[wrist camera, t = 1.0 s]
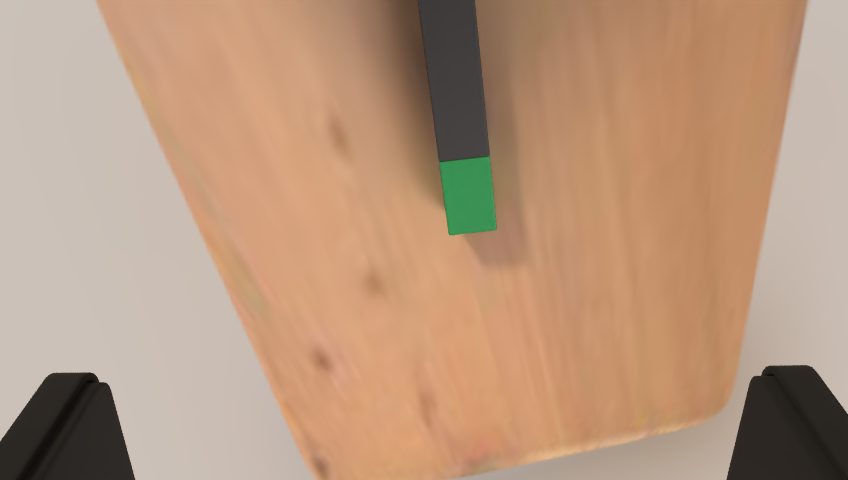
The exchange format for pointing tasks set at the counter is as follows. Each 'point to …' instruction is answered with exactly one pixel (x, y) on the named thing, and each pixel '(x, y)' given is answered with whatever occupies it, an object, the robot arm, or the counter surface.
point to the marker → (459, 113)
